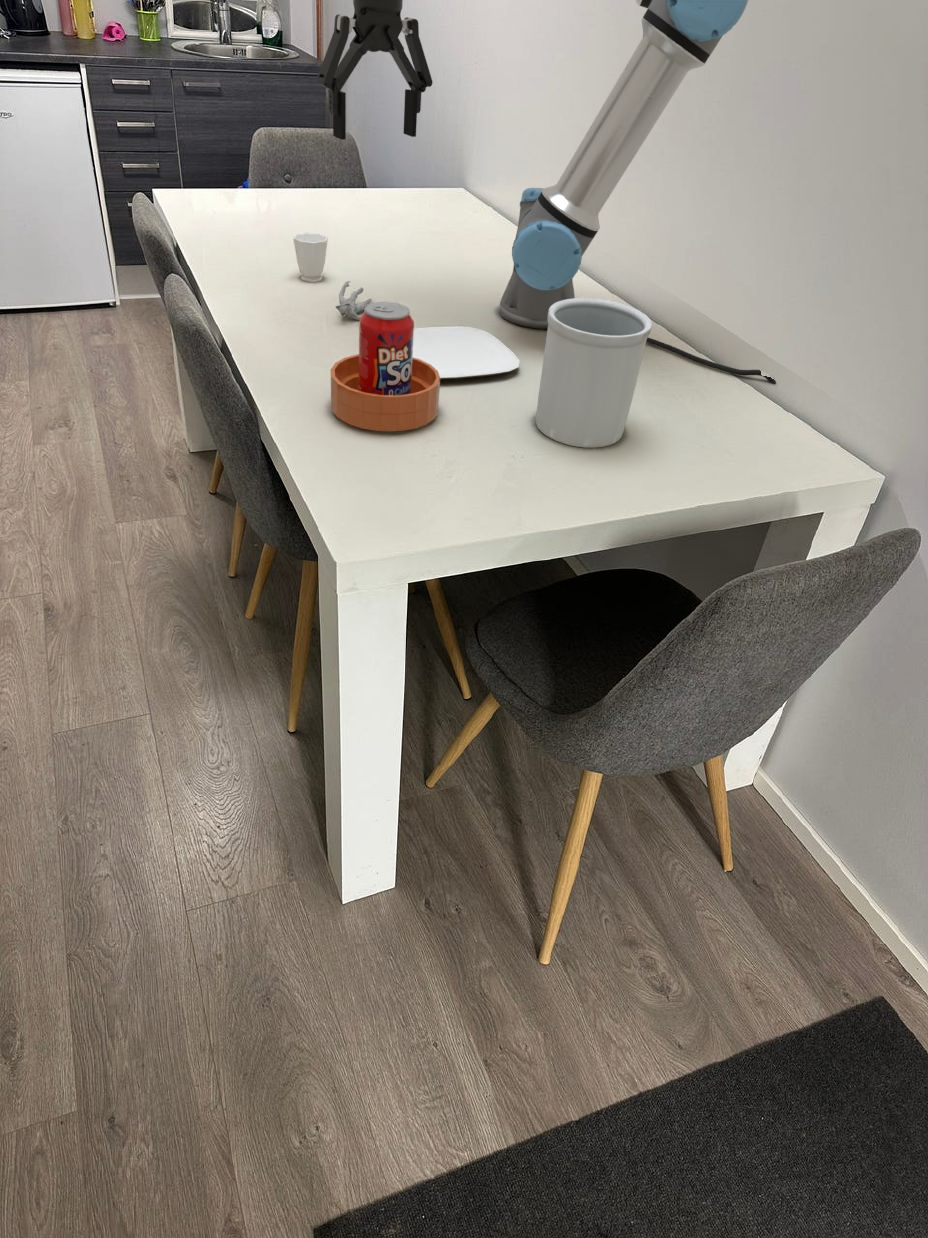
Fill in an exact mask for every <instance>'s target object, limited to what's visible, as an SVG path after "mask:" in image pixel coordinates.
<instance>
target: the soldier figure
mask: <svg viewBox="0 0 928 1238" xmlns="http://www.w3.org/2000/svg"><path fill="white" fill-rule="evenodd" d="M350 283H351V281H350V280H347V281H345V282H344V284H343V285H342V287H341V289H340V291H339V293H338V301H339V302H338V303H339V305H335V306H334V308H335V309H336V310H338V312H339V313H340V315H341V317H342V318H344V317H345V316H346V315H347V316H349V317H350V318H352V319H354V320H355V321H360V317H361V316H362V315H363V314H362V315H361V314H357V313H359V312H362V311H363V310H364V308H365V306H366V305H368V304H371V303H372V300H373V299H372V298H368V299H366V300H363V301H362V302H360V303H357V304H356V300H357V299H358V296H359V295H361V294H362V293H363V292H364V287H360V288H359V289H357V290H354V291H353V292H352V293H351V294H350V296H349V298H345V297H344V296H345V292H346V288H347V287H350V285H349V284H350Z"/></svg>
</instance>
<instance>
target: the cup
mask: <svg viewBox="0 0 928 1238" xmlns="http://www.w3.org/2000/svg"><path fill="white" fill-rule="evenodd" d="M292 239H293V244H294V250H295V255H296V262H297V265H298V269H299V273H300V274H301V276H300V280H302V281H304V282H309V283H316V282H321V281H322V279H323V276H322V275H323V273H324V268H325V263H326V257H327V250H328V249H327V247H328V241H329V237H327V236H325V235H323V234H321V233H316V232H301V233H296V234H295V235H294V236H293V237H292Z"/></svg>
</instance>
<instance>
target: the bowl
mask: <svg viewBox="0 0 928 1238" xmlns="http://www.w3.org/2000/svg"><path fill="white" fill-rule="evenodd" d="M440 389H441V379H440V376H439V373H438V371H437V370H436V369H435V368H434V367H433V366H432V365H430V364H428V363H426V362H424V361H422V360H420V359H417V358H413V357H412V377H411V394H405V395H378V394H371V393H365V392H362V391H359V353H357V354H353V355H350V356H345V357H343V358H341V359H340V360H337V361H336V362H334V364H333V365H332V366H331V368H330V409H331V411H332V413H333V414H334V415H335V416H336V418H338V419H339V420H341V421H343V422H345V423H346V424H347V425H351V426H354V427H357V428H360V429H363V430H369V431H375V432H401V431H402V432H404V431H410V430H416V429H418V428H421V427H425V426H427V425H428V424H429V423H431V422H432V421H433V420H435V419H436V417H437V415H438V412H439V402H440V401H439V400H440Z"/></svg>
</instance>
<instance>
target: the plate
mask: <svg viewBox="0 0 928 1238" xmlns="http://www.w3.org/2000/svg"><path fill="white" fill-rule="evenodd" d="M413 358H417V359H420V360H422V361H424V362H426V363H428V364H430V365H432V366H433V367H434V368H435V369H436V370H437V371H438V373H439V376H440V380H458V379H459V380H460V379H470V378H480V377H481V378H482V377H490V376H498V375H503V374H504V375H505V374H509V373H511V372H513V371H515V370H518V369H519V368H520V362H521V361H520V359H519V358H518V356H517V355H516V354H515V353H514V352H513V351H512V350H511V349H510V348H509V347H508V346H506V345H505V344H504V343H503V342H502V341H500V339H499V338H497V337H496V336H494V335H493V334H491V333H490V332H488V331H485V330H482V329H480V328H477V327H473V326H472V327H471V326H464V325H463V326H462V325H455V326H454V325H453V326H451V325H449V326H447V325H446V326H430V327H429V326H427V327H416V328H415V327H414V336H413Z"/></svg>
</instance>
